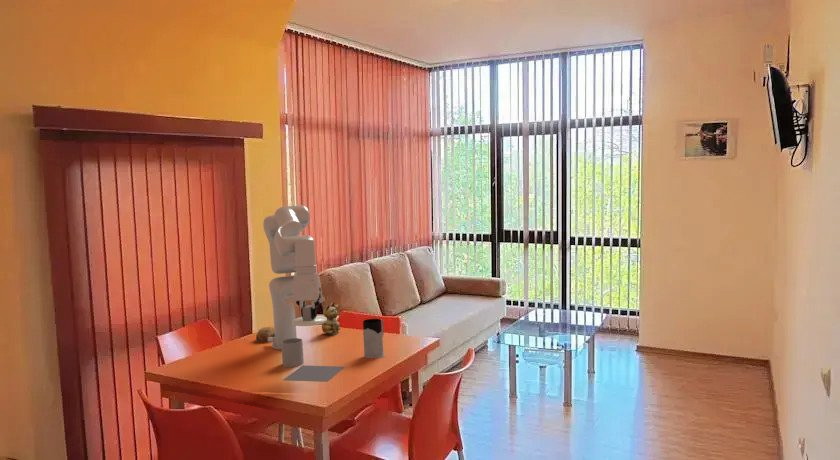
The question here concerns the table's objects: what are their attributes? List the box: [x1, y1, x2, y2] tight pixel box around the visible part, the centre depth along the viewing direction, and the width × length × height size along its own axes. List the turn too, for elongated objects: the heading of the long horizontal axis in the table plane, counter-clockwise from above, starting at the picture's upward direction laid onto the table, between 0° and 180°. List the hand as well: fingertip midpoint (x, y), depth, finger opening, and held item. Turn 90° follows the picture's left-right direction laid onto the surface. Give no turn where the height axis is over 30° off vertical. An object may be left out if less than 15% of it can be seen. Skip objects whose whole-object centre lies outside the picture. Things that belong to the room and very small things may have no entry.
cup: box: [281, 338, 305, 368], centre depth 254 cm, size 8×8×10 cm
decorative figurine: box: [321, 302, 341, 336], centre depth 303 cm, size 10×8×15 cm
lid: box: [292, 304, 327, 327], centre depth 239 cm, size 13×13×6 cm
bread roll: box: [255, 326, 275, 343], centre depth 297 cm, size 10×10×8 cm
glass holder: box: [362, 318, 386, 359], centre depth 263 cm, size 9×14×15 cm, turn 156°
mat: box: [282, 364, 346, 382], centre depth 240 cm, size 18×18×1 cm
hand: (309, 317), depth 239 cm, fingers closed on lid, 3 cm apart
